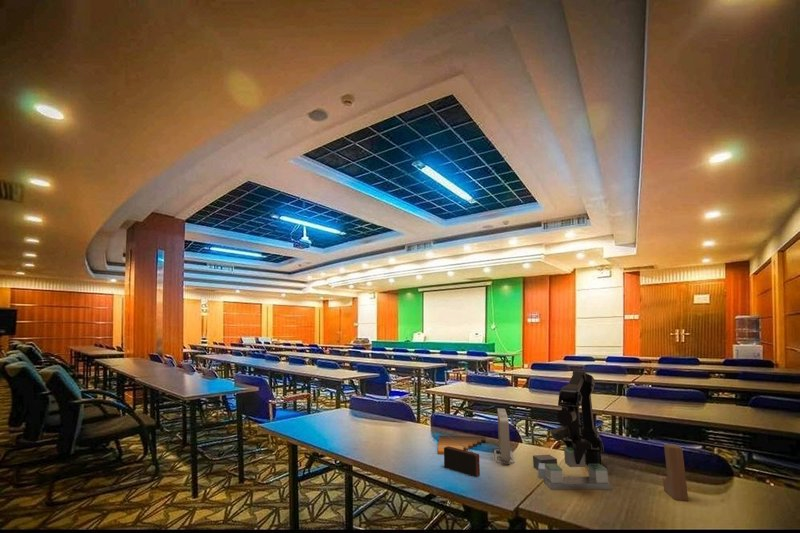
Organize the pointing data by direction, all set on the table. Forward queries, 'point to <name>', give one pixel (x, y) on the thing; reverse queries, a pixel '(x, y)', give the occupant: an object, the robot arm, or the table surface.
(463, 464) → the radio
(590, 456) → the robot arm
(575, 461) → the block
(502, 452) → the network device
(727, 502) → the table surface
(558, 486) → the rail
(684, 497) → the wooden block
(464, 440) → the pan flute
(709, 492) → the table surface
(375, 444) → the table surface
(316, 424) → the table surface
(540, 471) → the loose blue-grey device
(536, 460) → the loose grey block
